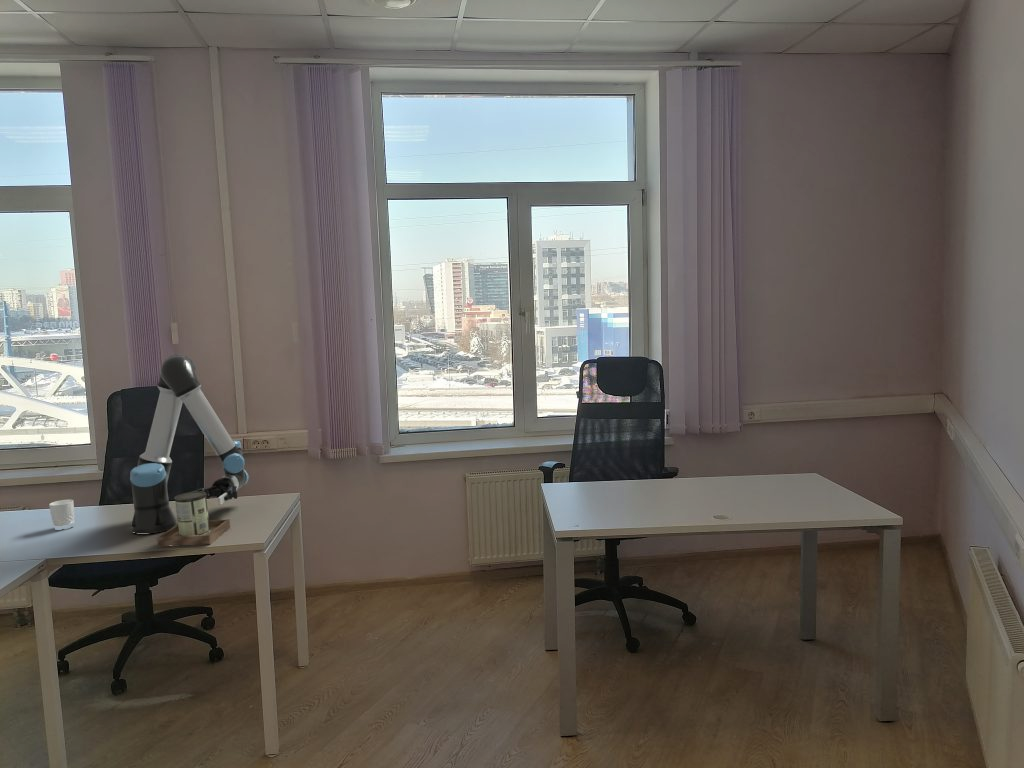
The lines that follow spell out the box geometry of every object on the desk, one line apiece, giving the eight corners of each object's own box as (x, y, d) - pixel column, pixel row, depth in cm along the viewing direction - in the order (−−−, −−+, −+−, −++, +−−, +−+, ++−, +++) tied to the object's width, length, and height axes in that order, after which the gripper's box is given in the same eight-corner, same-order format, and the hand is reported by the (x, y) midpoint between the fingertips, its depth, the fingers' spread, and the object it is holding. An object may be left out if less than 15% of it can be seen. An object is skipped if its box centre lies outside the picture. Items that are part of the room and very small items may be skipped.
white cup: (76, 528, 287) (73, 502, 285) (52, 532, 283) (49, 506, 281) (76, 523, 293) (73, 498, 292) (52, 527, 289) (49, 502, 288)
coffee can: (187, 529, 272) (183, 491, 270) (215, 528, 271) (211, 490, 270) (173, 539, 262) (168, 499, 260) (202, 538, 261) (197, 498, 259)
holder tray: (158, 547, 258) (157, 538, 258) (181, 530, 276) (180, 521, 276) (210, 544, 258) (209, 535, 257) (230, 527, 276) (229, 519, 275)
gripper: (257, 494, 293) (236, 510, 272) (194, 497, 294) (167, 514, 273) (255, 475, 292) (233, 490, 271) (192, 478, 293) (165, 493, 272)
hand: (200, 502), depth 272 cm, fingers open, 13 cm apart
